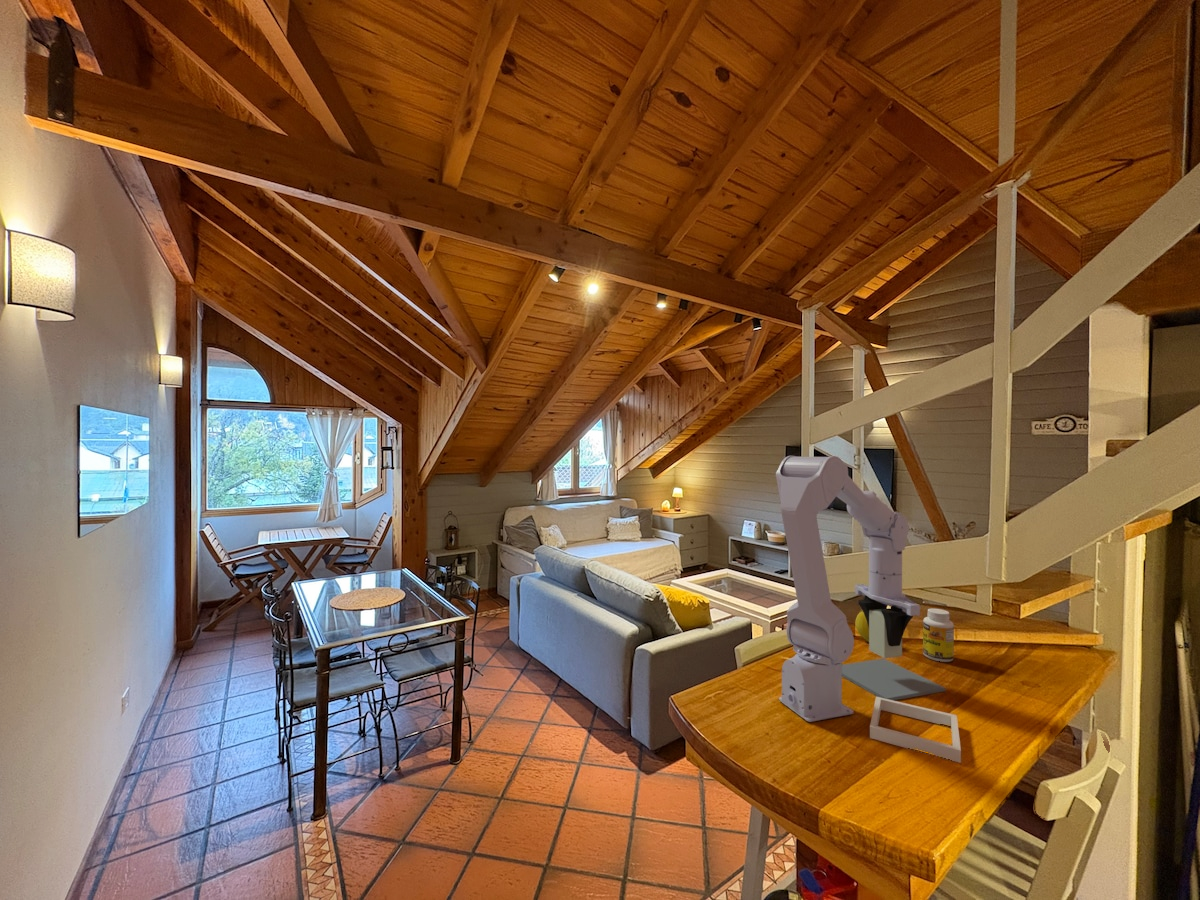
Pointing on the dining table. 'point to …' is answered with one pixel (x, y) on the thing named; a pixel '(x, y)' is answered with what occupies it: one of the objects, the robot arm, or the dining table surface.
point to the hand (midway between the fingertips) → (885, 640)
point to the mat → (888, 680)
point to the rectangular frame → (910, 740)
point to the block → (881, 636)
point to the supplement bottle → (938, 636)
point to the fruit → (862, 626)
